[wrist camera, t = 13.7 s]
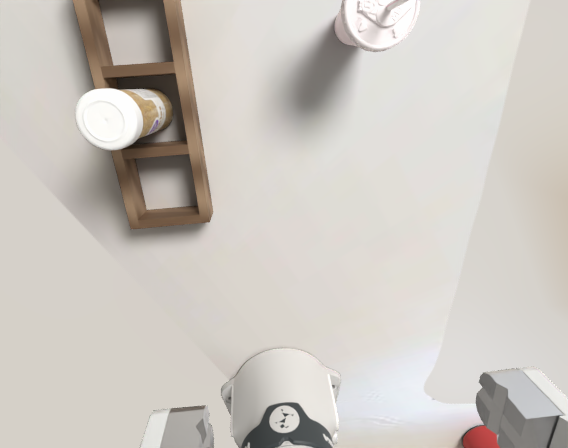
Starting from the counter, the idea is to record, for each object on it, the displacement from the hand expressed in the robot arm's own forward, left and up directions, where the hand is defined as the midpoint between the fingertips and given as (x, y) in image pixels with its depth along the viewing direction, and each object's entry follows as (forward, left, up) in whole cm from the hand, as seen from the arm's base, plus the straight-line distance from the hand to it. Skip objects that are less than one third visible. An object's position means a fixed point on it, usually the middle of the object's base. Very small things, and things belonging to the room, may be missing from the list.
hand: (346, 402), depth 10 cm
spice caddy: (+7, +13, -34) cm, 37 cm away
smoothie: (+14, -9, -34) cm, 38 cm away
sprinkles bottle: (+7, +13, -34) cm, 37 cm away
